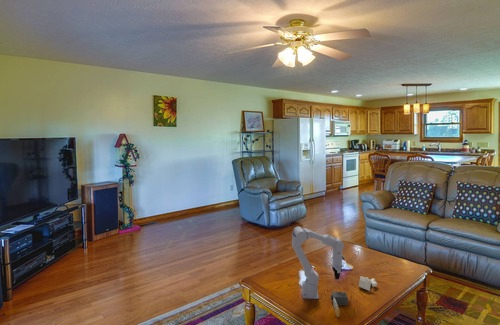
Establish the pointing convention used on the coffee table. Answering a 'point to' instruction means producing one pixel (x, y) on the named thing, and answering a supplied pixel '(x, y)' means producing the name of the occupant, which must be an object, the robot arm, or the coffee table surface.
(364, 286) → the figurine
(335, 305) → the door
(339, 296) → the case
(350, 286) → the coffee table surface
